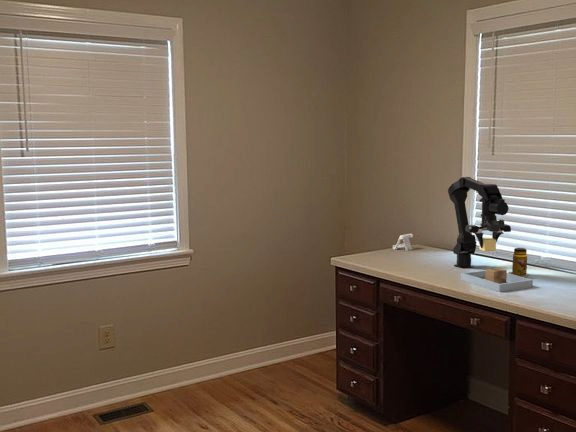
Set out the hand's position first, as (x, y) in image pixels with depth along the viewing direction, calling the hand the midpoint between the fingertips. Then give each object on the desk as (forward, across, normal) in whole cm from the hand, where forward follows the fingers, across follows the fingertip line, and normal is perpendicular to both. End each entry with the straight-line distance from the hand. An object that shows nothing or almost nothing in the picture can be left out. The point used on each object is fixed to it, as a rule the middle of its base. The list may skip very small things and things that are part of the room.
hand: (487, 247), depth 290 cm
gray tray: (+13, -2, -15) cm, 20 cm away
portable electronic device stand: (+12, -21, +64) cm, 69 cm away
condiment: (+13, +14, -1) cm, 19 cm away
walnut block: (+13, -2, -15) cm, 20 cm away
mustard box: (+1, 0, 0) cm, 1 cm away
